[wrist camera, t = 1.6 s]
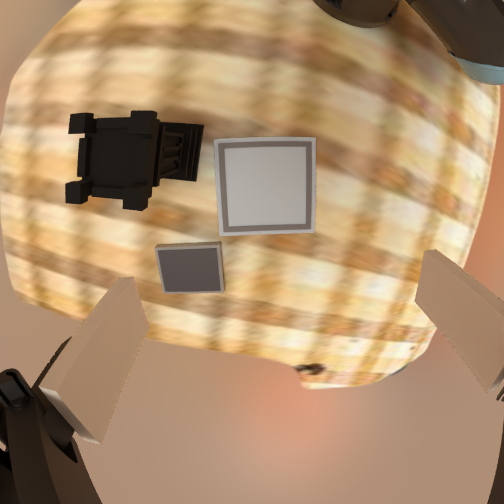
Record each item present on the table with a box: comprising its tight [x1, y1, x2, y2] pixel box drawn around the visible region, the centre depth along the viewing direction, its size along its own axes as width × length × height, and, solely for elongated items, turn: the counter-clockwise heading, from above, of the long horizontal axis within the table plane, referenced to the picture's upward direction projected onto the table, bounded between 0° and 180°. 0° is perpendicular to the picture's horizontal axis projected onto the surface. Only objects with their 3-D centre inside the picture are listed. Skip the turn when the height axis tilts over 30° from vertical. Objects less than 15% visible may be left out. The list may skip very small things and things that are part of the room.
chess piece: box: [65, 111, 204, 211], centre depth 26 cm, size 8×8×20 cm
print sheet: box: [214, 137, 316, 236], centre depth 37 cm, size 14×14×1 cm
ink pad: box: [155, 242, 225, 294], centre depth 41 cm, size 8×10×2 cm
